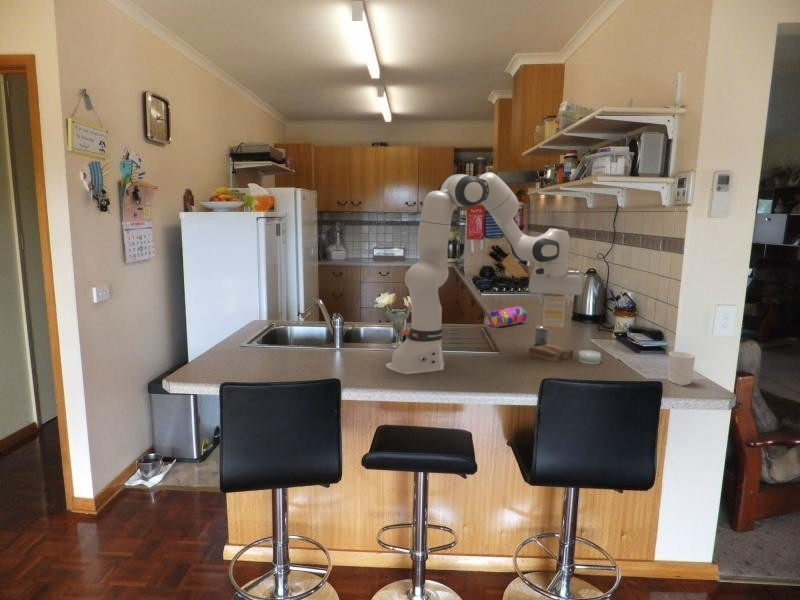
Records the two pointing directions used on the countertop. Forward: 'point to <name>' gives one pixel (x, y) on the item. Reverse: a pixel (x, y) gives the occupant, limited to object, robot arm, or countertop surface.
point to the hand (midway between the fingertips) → (553, 304)
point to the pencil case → (507, 316)
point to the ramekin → (589, 356)
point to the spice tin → (541, 335)
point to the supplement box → (553, 311)
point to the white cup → (680, 367)
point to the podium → (551, 352)
